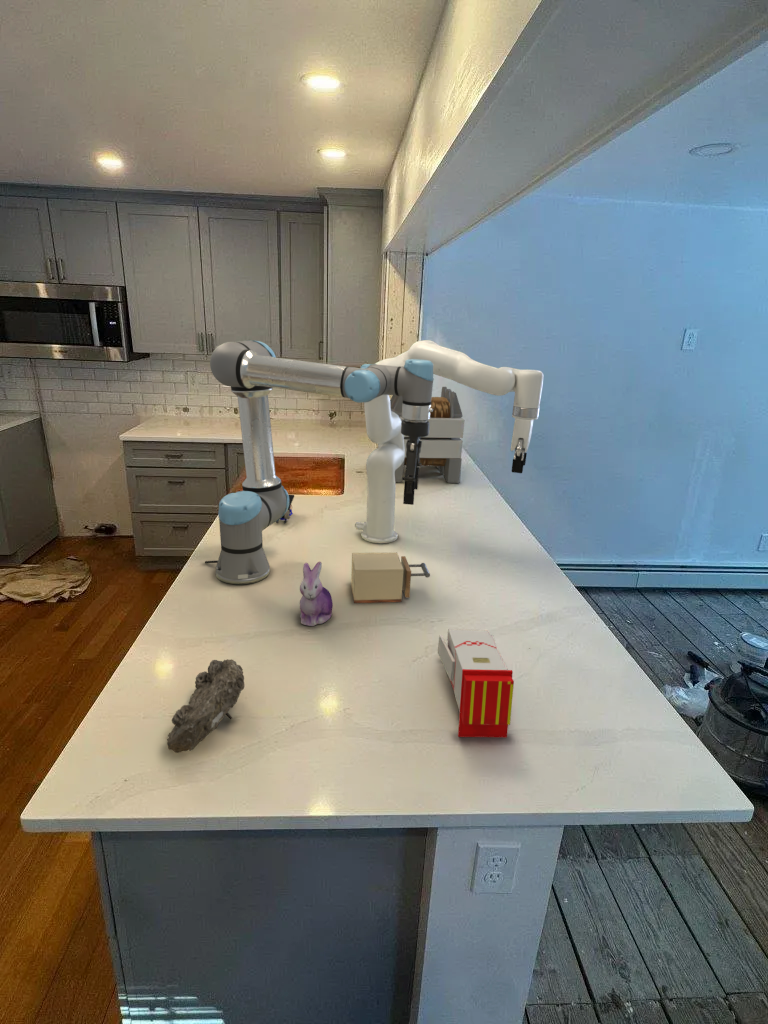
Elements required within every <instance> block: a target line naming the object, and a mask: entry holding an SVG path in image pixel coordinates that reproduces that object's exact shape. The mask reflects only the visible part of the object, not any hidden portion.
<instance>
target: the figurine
mask: <svg viewBox="0 0 768 1024" xmlns="http://www.w3.org/2000/svg"><path fill="white" fill-rule="evenodd" d="M322 564H323V563H322V561H318V562H317V563H316V564H315V565H314V566H313V568H312V569H311V566H310V565H309V563H307V562H305V563H303V566H302V572H303V577H302V580H301V582H300V585H299V592H300V594H301V598H300V600H299V609H300V613H299V614H300V615H299V618H300V624H302V625H304V626H309V627H314V626H317V625H322V624H324V623H326V622H328V621H329V620H330V619H331V617H332V615H333V609H334V608H333V607H334V603H333V597H332V594H331V592H330V591H329V590H328V589H327V588H326V587H325V586H323V584H322V581H321V579H320V574H321V571H322V566H323V565H322Z"/></svg>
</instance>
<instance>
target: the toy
mask: <svg viewBox="0 0 768 1024" xmlns="http://www.w3.org/2000/svg"><path fill="white" fill-rule="evenodd" d="M446 640H447V643H446V641H445V639H444V636H443V635H442V634H439V637H438V646H437V656H438V657H439V659H440V661H441V663H442V666H443V668H444V670H445V672H446V674H447V677H448V679H449V681H450V684H451V687H452V690H453V693H454V697H455V701H456V705H457V708H458V711H459V714H458V715H459V716H458V730H457V731H458V732H457V737H458V738H508V731H509V726H510V725H511V717H512V707H513V697H514V696H513V695H514V684H515V680H514V679H513V673H514V671H513V670H512V669H508V667H507V665H506V662H505V661H504V659H503V658H502V655H501V653H500V651H499V649H498V647H497V643H496V639H495V637H494V635H493V634H491V632H490V631H489V629H467V628H466V629H465V628H463V629H461V628H460V629H459V628H448V630H447V639H446Z"/></svg>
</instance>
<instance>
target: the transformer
mask: <svg viewBox="0 0 768 1024" xmlns="http://www.w3.org/2000/svg"><path fill="white" fill-rule="evenodd" d="M440 393H441V394H440V396H432V398H431V407H430V408H432V409H433V412H430V419H429V420H427V421H429V423H430V426H429V435H428V436H425V437H420V441H422V446H421V452H420V457H419V459H420V461H419V463H421V467H436V468H437V470H438V469H439V473H440V474H441V475H443V478H444V479H445V481H446V482H447V483H449V484H455V483H456V484H459V483H461V472H462V461H463V460H462V453H463V442H464V441H463V440H462V439H463V438H464V431H465V430H464V429H465V419H464V418H463V411H462V408H461V405H460V402H459V398H458V395H457V392H455V391H453V390H452V389H451V388H447V386H442V387H441V392H440ZM390 403H391V411H392V412H394V413H396V414H397V415H398V416H399V418H400V419H401V421H402V420H403V418H402V403H403V396H397V395H391V398H390ZM403 437H404V449H405V458H404V461H403V463H402V465H401V466H400V467H399V468H397V469H396V470H395V483H402V482H403V481H402V477H403V475H404V469H405V466H406V460H407V457H406V451H407V449H406V443H407V440H409V439H410V437H409V436H405V435H403Z"/></svg>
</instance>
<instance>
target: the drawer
mask: <svg viewBox="0 0 768 1024" xmlns="http://www.w3.org/2000/svg"><path fill="white" fill-rule="evenodd" d="M400 561H401V564H402V567H403V583H402V593H403V595H404V598H406V599H407V598H410V597H411V581H412V580H411V579H412V577H425V578H427V579H428V578H430V577H431V573H430V572H429V569H428V567H427V564H426V563H425V562H421V563H419V564H417V563H416V564H415V563H414V564H409V561H408V559H407V556H405V555H402V556H401V557H400ZM411 568H421V570H422V572H421V573H417V572H416V573H412V570H411Z"/></svg>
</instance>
